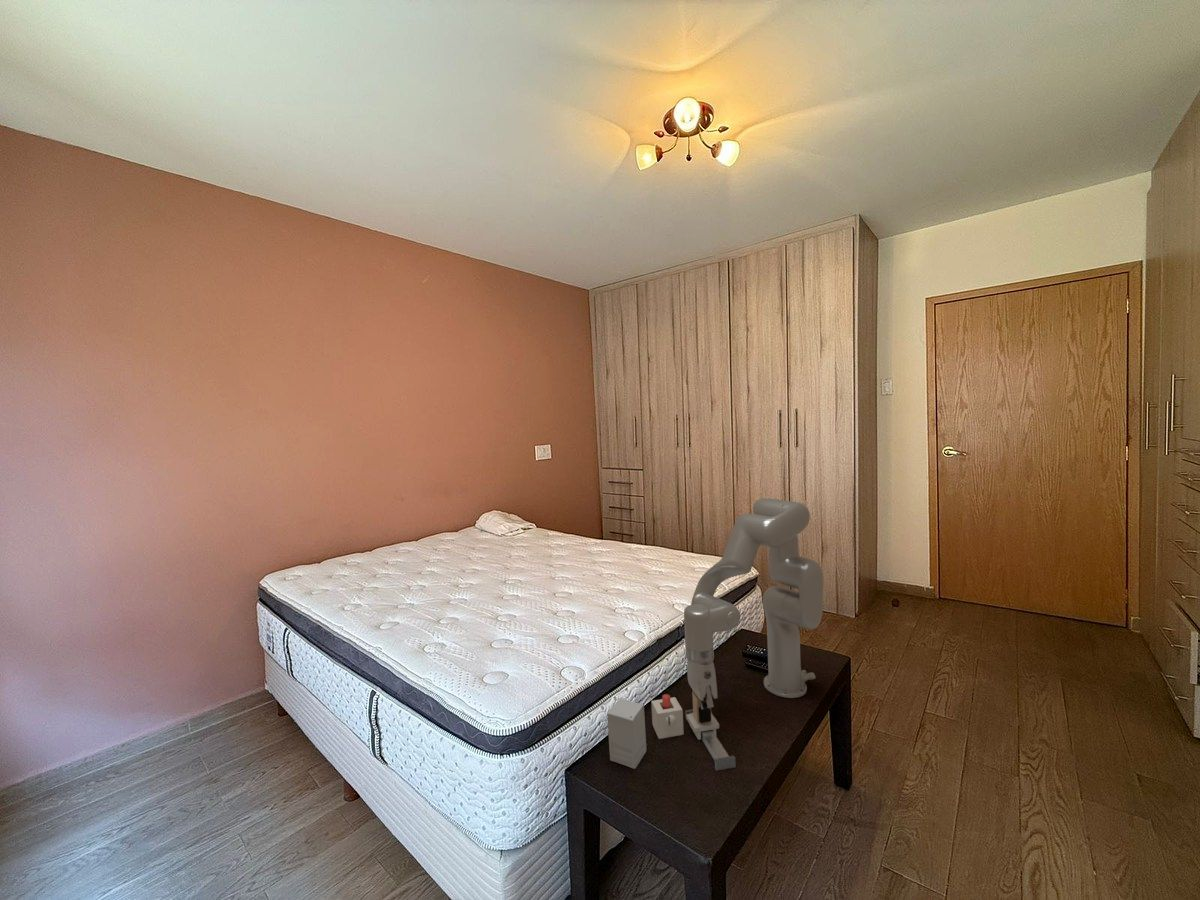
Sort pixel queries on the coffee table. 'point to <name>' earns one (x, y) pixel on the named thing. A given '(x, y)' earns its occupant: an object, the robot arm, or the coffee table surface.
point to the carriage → (694, 719)
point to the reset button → (666, 701)
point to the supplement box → (626, 732)
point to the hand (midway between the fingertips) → (702, 716)
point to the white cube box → (667, 719)
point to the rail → (716, 749)
